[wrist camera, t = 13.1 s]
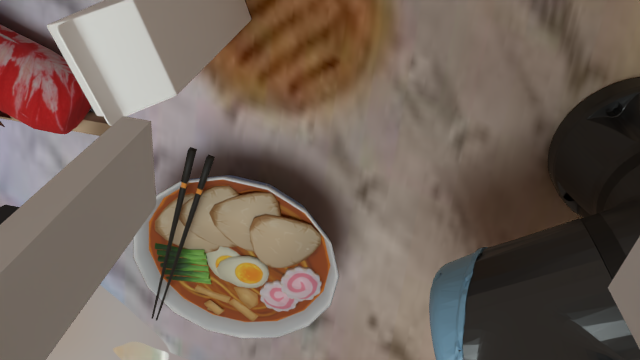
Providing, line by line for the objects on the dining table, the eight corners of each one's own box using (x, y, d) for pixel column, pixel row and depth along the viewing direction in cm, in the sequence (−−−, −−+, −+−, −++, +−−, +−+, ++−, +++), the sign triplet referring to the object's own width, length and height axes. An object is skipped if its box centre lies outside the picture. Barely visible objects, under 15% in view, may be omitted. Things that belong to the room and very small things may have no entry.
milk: (228, -48, 43) (105, 8, 24) (252, 20, 46) (158, 117, 27) (168, -28, 45) (8, 39, 26) (195, 37, 47) (68, 139, 29)
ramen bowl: (300, 322, 67) (289, 374, 60) (140, 260, 64) (110, 306, 57) (382, 184, 53) (381, 230, 47) (185, 100, 51) (152, 135, 44)
